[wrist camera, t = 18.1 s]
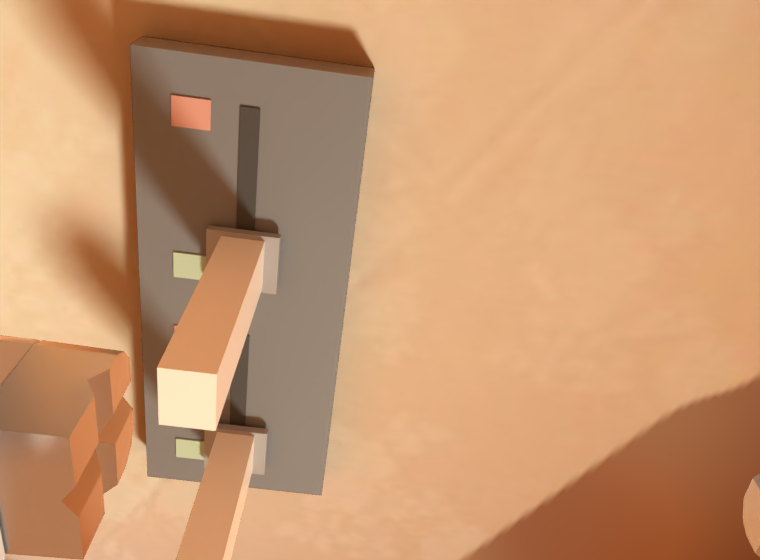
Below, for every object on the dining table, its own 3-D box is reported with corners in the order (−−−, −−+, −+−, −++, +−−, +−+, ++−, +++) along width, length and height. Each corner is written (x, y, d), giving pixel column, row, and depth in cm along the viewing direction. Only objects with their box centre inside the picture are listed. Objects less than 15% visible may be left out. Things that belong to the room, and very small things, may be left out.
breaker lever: (206, 421, 47) (148, 589, 36) (268, 429, 47) (228, 597, 36) (205, 462, 48) (150, 634, 38) (265, 469, 49) (226, 642, 38)
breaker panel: (142, 36, 37) (129, 45, 35) (374, 68, 38) (373, 78, 36) (156, 455, 51) (147, 477, 50) (324, 474, 52) (321, 496, 50)
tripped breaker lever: (208, 225, 40) (136, 359, 29) (281, 234, 40) (236, 370, 29) (207, 281, 42) (139, 427, 31) (277, 290, 42) (234, 438, 31)
